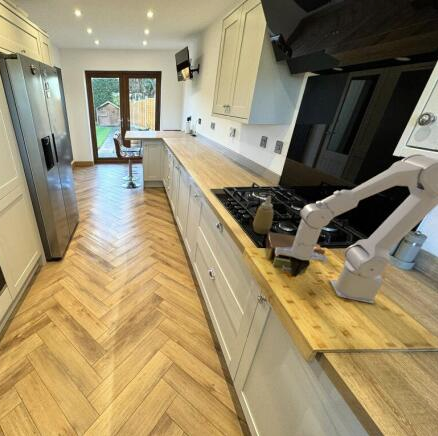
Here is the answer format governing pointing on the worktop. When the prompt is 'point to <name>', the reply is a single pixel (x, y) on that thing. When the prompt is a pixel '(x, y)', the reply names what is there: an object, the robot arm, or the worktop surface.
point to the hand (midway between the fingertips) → (293, 275)
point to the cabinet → (278, 242)
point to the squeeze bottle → (264, 217)
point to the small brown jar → (318, 249)
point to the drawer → (283, 263)
